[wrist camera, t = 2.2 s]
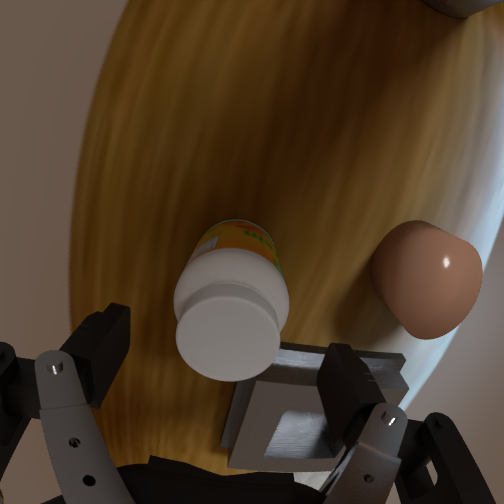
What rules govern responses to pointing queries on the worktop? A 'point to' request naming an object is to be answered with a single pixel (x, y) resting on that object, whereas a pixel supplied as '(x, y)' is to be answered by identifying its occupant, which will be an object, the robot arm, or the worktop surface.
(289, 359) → the collar socket
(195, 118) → the worktop surface
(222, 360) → the supplement bottle
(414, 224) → the brown egg
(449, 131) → the worktop surface
